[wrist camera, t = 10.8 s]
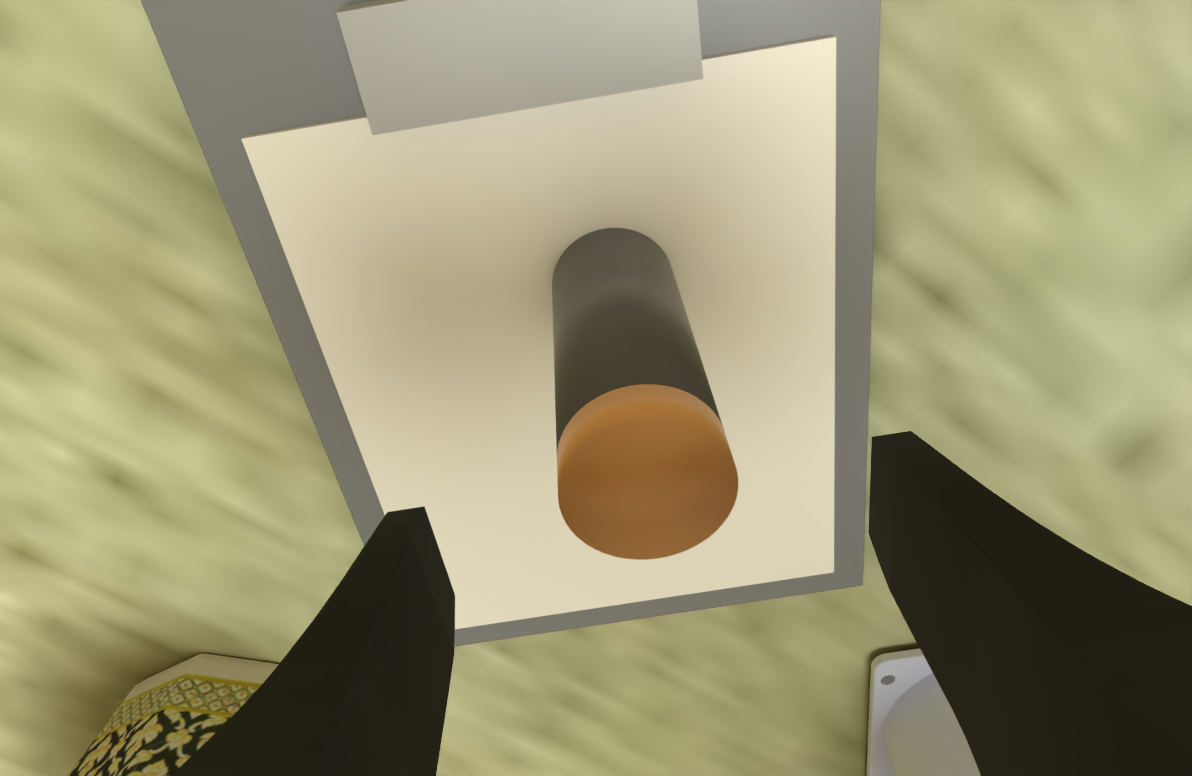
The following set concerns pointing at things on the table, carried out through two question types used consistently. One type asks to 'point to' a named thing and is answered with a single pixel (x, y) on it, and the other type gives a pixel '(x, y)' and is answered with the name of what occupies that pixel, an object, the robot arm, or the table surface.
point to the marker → (633, 404)
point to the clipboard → (555, 261)
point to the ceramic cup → (172, 716)
